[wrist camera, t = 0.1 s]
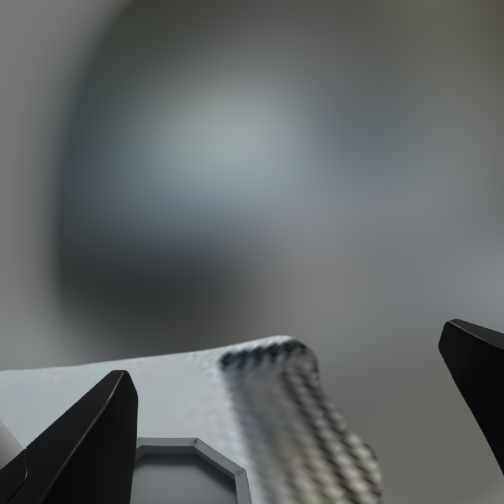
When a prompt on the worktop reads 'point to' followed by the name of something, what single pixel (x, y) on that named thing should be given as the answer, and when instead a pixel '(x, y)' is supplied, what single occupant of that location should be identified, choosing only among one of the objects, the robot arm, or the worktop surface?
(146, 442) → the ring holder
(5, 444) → the can
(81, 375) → the worktop surface
